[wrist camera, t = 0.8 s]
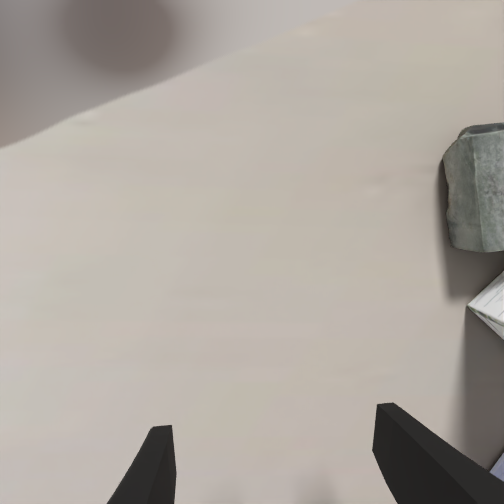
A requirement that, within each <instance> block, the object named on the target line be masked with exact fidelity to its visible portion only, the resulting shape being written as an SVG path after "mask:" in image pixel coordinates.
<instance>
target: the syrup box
mask: <svg viewBox="0 0 504 504" xmlns="http://www.w3.org/2000/svg"><path fill="white" fill-rule="evenodd" d="M467 306H468V308H469V309H470V310H472V311H473V312H474V313H475V314H476V315H477V316H478V317H479V318H480V319H481V320H482V321H484V322H485V323H486V324H487V325H488V326H489V327H490V328H491V329H492V330H493V331H494V332H495V333H497V334H498V335H499V336H500V337H501V338H502V339H503V340H504V271H503V272H502V273H501V274H500V275H499V276H498V277H496V278H495V279H494V280H493V281H492V282H491V283H490V284H489V285H488V286H487V287H486V288H485V289H484V290H483V291H482V292H480V293H479V294H478V295H477V296H476V297H475V298H474V299H473V300H472V301H471V302H470V303H469V304H468V305H467Z"/></svg>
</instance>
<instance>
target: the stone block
mask: <svg viewBox="0 0 504 504" xmlns="http://www.w3.org/2000/svg"><path fill="white" fill-rule="evenodd" d="M459 135H460V136H459V137H458V139H457V140H456V141H455V142H454V143H453V144H452V145H451V146H450V147H449V148H448V149H447V151H446V152H445V154H444V155H443V162H444V166H445V174H446V178H447V187H448V189H449V191H448V210H447V211H446V217H447V224H448V228H449V237H450V238H449V239H450V240H451V246H452V247H455V248H458V249H463V250H469V251H475V252H481V253H482V252H495V251H502V250H504V122H503V123H494V124H485V125H473V126H470V127H467V128H465V129H463V130H462V131H461V132H460V134H459Z"/></svg>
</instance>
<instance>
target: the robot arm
mask: <svg viewBox="0 0 504 504" xmlns="http://www.w3.org/2000/svg"><path fill="white" fill-rule="evenodd" d="M372 451H373V453H374V456H375V458H376V461H377V463H378V465H379V468H380V470H381V472H382V475H383V477H384V479H385V481H386V483H387V485H388V487H389V489H390V491H391V493H392V494H393V496H394V498H395V500H396V502H397V504H504V453H503V454H502V456H501V457H500V458H499V460H498V461H497V463H496V464H495V465H494V467H493V468H492V469H491V471H490V472H488V471H487V470H485V469H484V468H482V467H481V466H479V465H478V464H476V463H475V462H473V461H472V460H471V459H469V458H468V457H466V456H465V455H463V454H462V453H461V452H459V451H458V450H456V449H455V448H454V447H452V446H451V445H449V444H448V443H447V442H445V441H444V440H443V439H441V438H440V437H439V436H437V435H436V434H435V433H433V432H432V431H431V430H429V429H428V428H427V427H425V426H424V425H423V424H421V423H420V422H419V421H417V420H416V419H415V418H413V417H412V416H411V415H410V414H408V413H407V412H406V411H404V410H403V409H402V408H400V407H399V406H397V405H396V404H395V403H384V404H377V410H376V420H375V430H374V439H373V449H372ZM175 486H176V463H175V453H174V443H173V432H172V425H166V426H156V427H152V428H151V429H150V431H149V433H148V435H147V437H146V439H145V441H144V443H143V445H142V447H141V448H140V450H139V452H138V454H137V456H136V457H135V459H134V461H133V463H132V464H131V466H130V468H129V469H128V471H127V473H126V474H125V476H124V478H123V479H122V481H121V482H120V484H119V486H118V487H117V489H116V491H115V492H114V494H113V495H112V497H111V498H110V500H109V501H108V503H107V504H174V499H175Z"/></svg>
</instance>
